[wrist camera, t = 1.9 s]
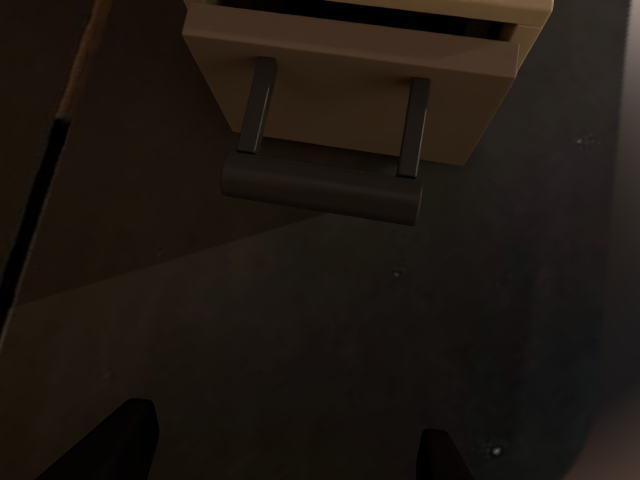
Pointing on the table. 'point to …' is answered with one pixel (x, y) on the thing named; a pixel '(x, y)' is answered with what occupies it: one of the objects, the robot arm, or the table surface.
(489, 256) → the table surface
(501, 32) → the beige drawer cabinet
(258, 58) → the pull-out drawer box
